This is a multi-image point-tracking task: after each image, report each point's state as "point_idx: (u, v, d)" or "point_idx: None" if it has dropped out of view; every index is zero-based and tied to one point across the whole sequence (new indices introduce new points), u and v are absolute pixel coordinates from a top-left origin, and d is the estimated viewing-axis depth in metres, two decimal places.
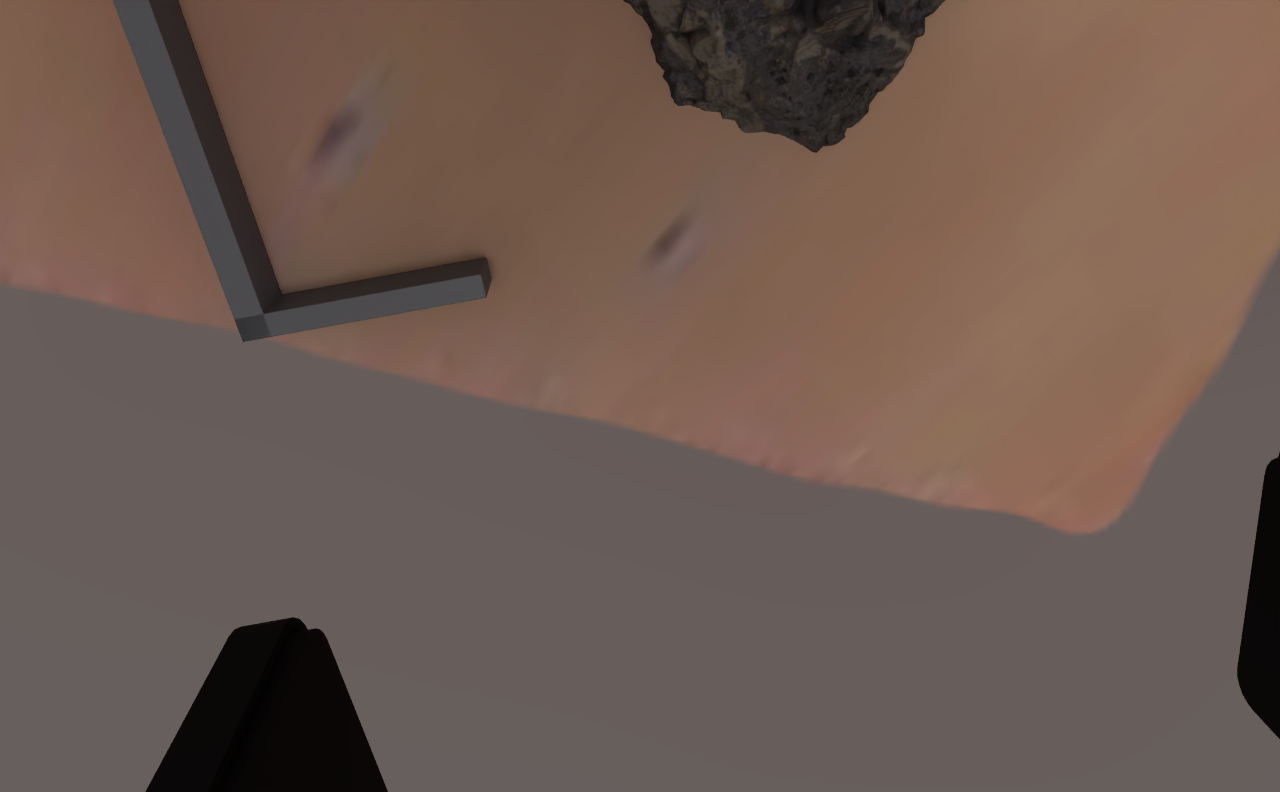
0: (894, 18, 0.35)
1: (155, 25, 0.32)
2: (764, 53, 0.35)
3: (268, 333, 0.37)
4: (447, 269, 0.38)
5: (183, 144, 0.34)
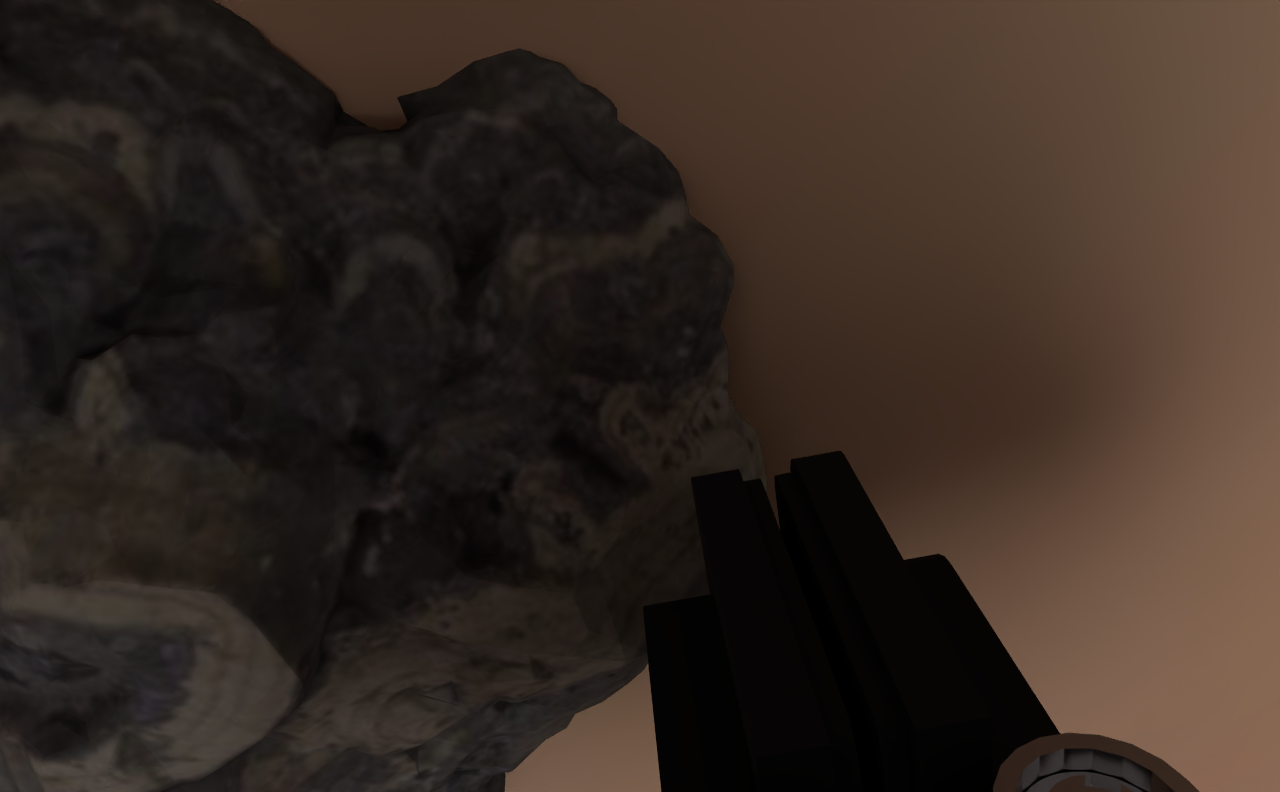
0: None
1: None
2: None
3: None
4: None
5: None
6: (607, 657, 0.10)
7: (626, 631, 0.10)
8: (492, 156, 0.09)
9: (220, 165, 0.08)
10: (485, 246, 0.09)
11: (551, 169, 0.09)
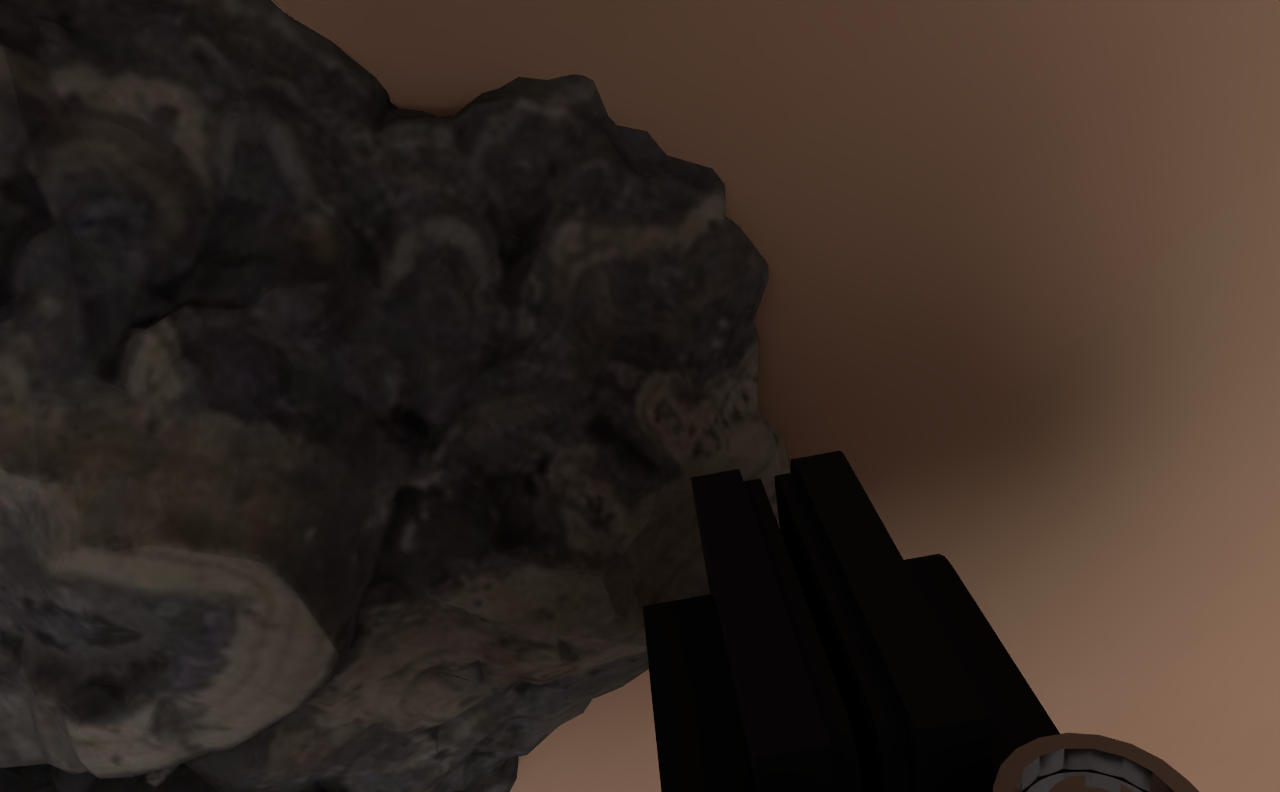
0: None
1: None
2: None
3: None
4: None
5: None
6: (632, 641, 0.10)
7: None
8: (541, 144, 0.09)
9: (277, 143, 0.09)
10: (529, 233, 0.09)
11: (597, 159, 0.09)
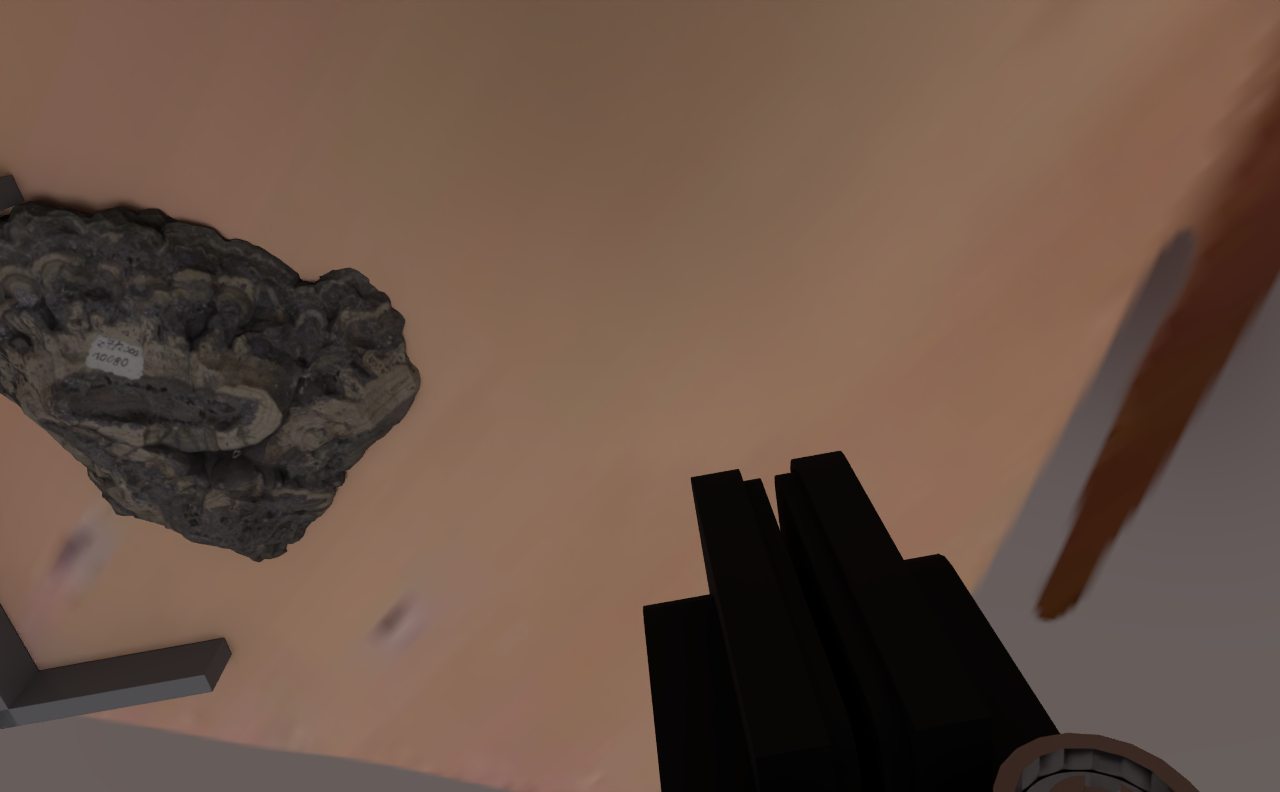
0: (300, 480, 0.38)
1: None
2: (177, 498, 0.38)
3: (15, 723, 0.41)
4: (184, 655, 0.42)
5: None
6: (365, 424, 0.37)
7: (372, 418, 0.37)
8: (337, 291, 0.36)
9: (269, 292, 0.35)
10: (335, 313, 0.36)
11: (352, 294, 0.36)
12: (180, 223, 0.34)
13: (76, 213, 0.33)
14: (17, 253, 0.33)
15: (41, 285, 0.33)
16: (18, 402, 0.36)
